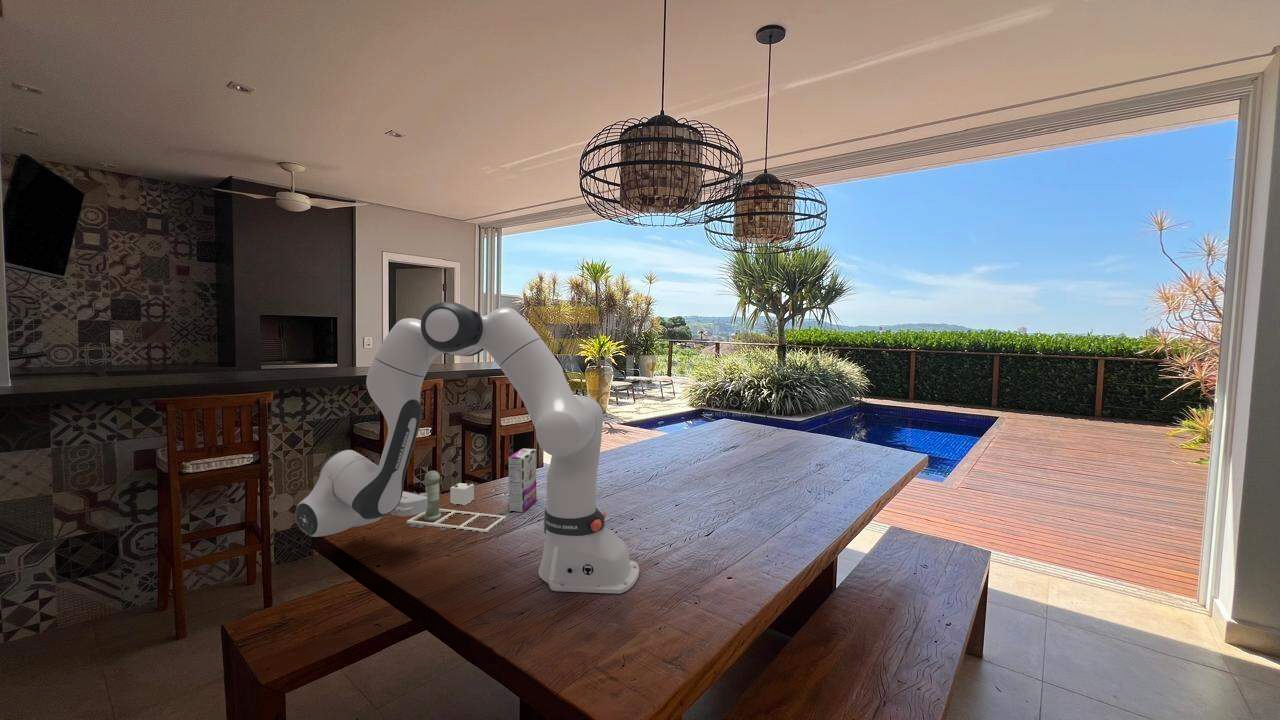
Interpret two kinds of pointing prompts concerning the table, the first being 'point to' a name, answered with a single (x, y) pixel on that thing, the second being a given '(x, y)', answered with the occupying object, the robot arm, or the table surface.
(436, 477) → the pawn
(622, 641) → the table surface
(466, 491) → the die
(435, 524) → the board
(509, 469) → the candy bar box
